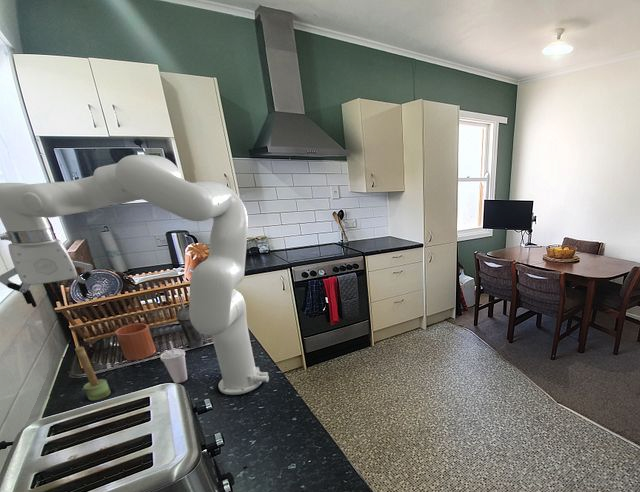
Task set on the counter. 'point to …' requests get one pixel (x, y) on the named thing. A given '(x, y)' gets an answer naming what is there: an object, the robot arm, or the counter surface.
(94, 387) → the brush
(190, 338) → the beverage cup
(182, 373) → the smoothie
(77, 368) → the counter surface
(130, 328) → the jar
